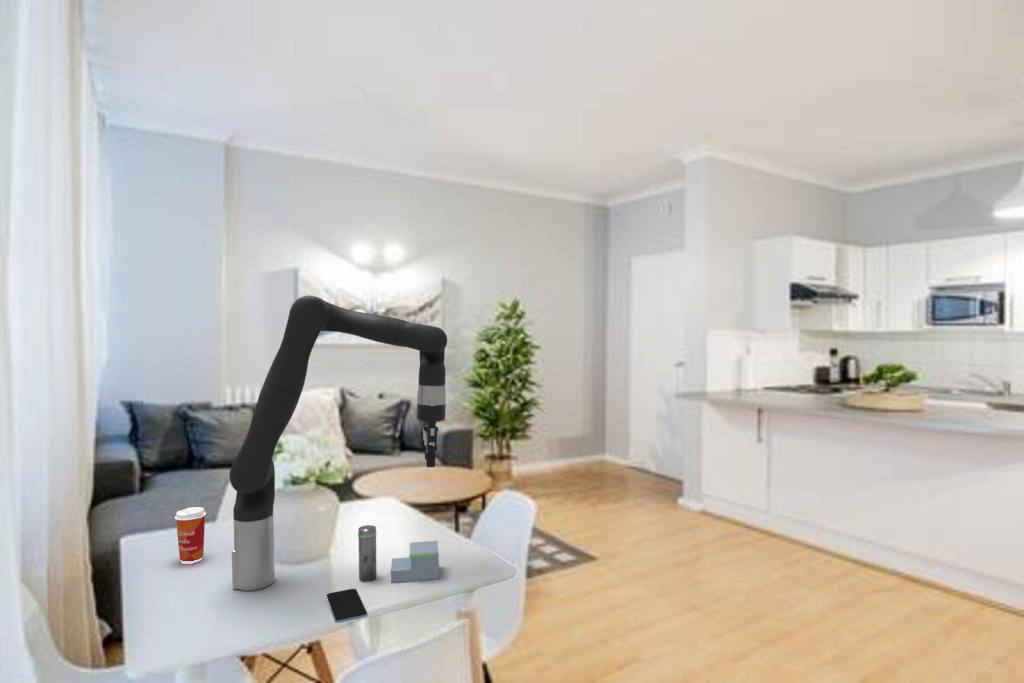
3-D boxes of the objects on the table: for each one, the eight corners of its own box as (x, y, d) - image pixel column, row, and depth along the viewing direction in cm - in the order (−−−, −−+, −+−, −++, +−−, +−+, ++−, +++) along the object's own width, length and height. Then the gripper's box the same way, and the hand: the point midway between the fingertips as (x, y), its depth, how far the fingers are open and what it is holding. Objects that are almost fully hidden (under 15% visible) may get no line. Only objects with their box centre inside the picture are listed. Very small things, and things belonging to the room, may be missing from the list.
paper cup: (169, 563, 163) (167, 513, 163) (193, 553, 170) (192, 505, 170) (190, 568, 160) (188, 516, 160) (214, 557, 167) (212, 508, 167)
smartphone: (355, 587, 148) (368, 614, 134) (355, 590, 148) (368, 617, 134) (324, 593, 144) (334, 621, 131) (324, 596, 145) (334, 624, 131)
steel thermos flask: (358, 582, 151) (357, 531, 151) (359, 574, 156) (358, 525, 155) (376, 581, 152) (375, 530, 151) (377, 573, 156) (376, 524, 156)
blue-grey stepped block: (391, 583, 150) (390, 556, 150) (392, 569, 159) (391, 543, 158) (438, 579, 152) (438, 552, 152) (437, 566, 161) (437, 540, 160)
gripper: (416, 399, 164) (414, 457, 164) (418, 405, 150) (416, 469, 150) (443, 399, 165) (441, 457, 165) (448, 405, 151) (446, 469, 151)
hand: (429, 463), depth 158 cm, fingers open, 8 cm apart
